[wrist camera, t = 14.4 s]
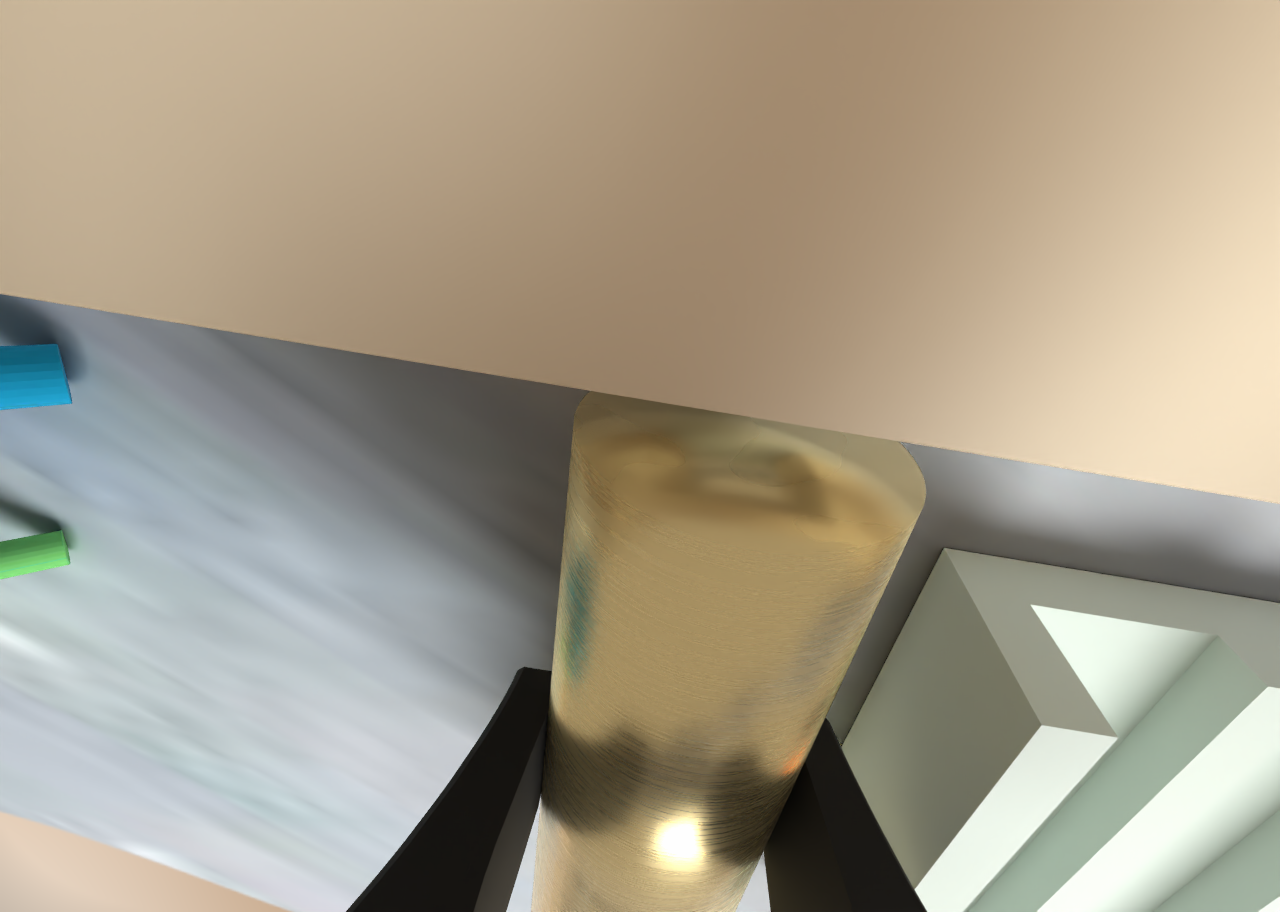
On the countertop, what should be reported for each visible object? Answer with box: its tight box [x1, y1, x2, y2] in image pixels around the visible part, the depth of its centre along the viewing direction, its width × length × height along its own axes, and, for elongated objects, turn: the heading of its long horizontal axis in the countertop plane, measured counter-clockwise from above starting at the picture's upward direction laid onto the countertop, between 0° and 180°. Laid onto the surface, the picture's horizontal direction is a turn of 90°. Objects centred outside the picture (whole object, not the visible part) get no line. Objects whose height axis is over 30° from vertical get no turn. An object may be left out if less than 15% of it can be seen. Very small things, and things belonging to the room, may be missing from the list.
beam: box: [0, 0, 1280, 504], centre depth 5 cm, size 16×3×5 cm, turn 82°
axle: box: [531, 391, 926, 912], centre depth 10 cm, size 12×4×4 cm, turn 173°
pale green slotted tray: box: [841, 548, 1280, 912], centre depth 12 cm, size 13×12×4 cm
